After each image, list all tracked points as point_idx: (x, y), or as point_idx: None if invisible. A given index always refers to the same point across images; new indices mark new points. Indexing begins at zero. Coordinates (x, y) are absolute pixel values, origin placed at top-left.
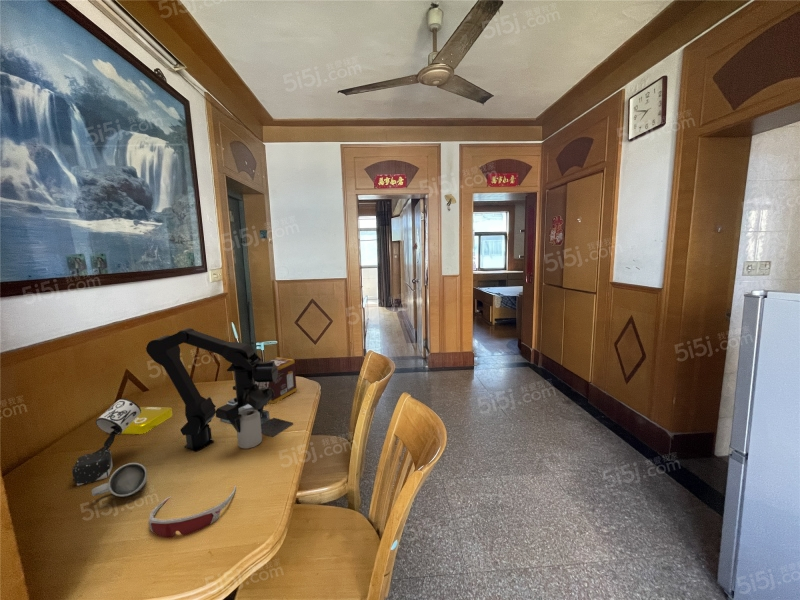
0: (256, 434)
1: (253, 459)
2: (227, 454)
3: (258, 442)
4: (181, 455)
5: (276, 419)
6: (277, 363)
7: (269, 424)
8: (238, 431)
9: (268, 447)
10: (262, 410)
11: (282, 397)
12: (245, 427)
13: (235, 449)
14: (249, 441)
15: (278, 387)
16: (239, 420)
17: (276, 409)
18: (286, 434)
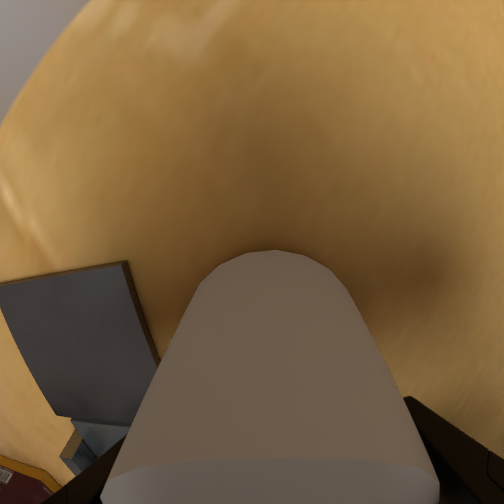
0: (262, 289)
1: (373, 127)
2: (413, 333)
3: (250, 257)
4: None
5: (48, 393)
6: None
7: (87, 392)
8: (417, 407)
9: (214, 167)
10: (59, 491)
11: (14, 463)
12: (396, 398)
13: None
14: (330, 286)
15: (4, 499)
16: (487, 498)
17: (39, 443)
18: (53, 216)
